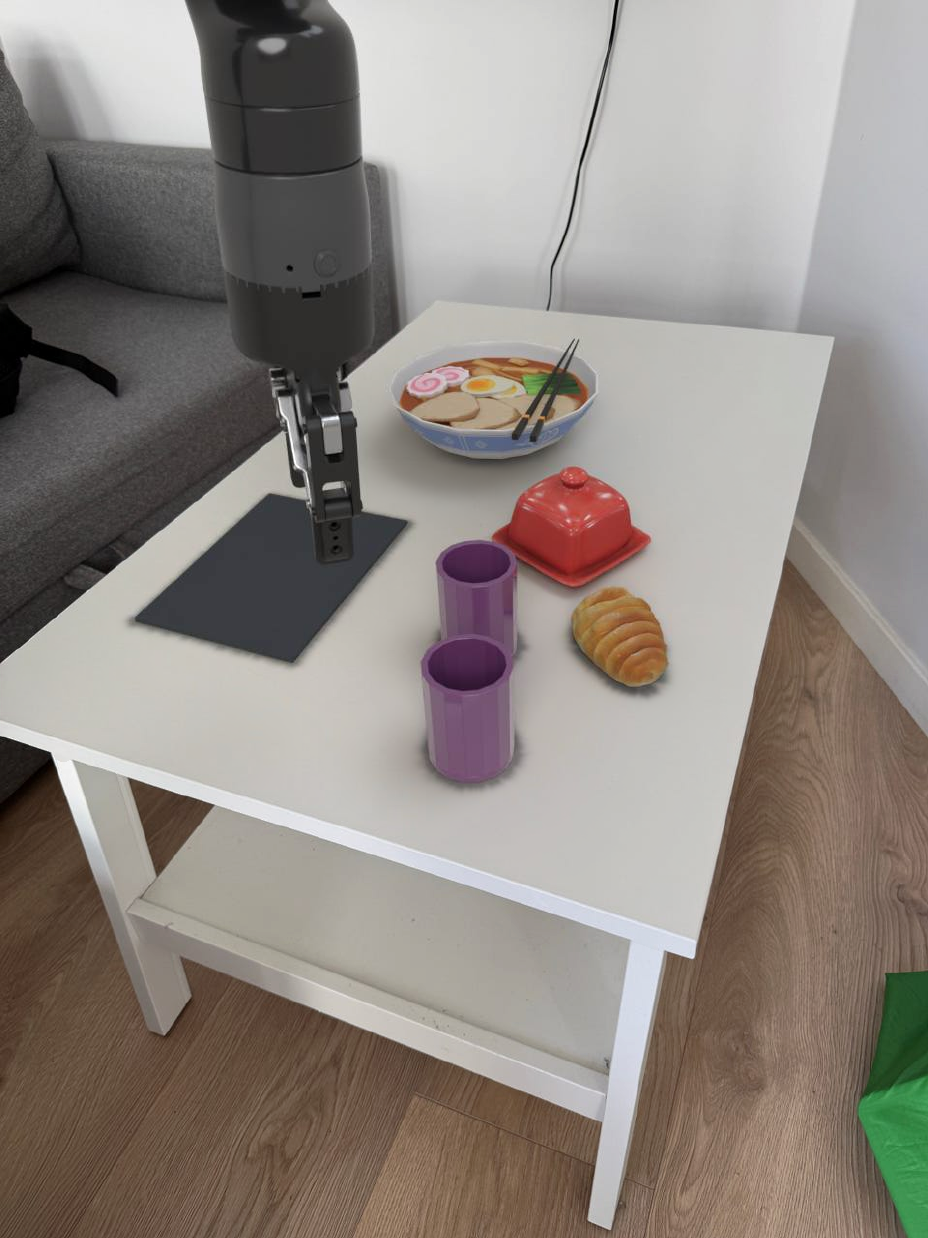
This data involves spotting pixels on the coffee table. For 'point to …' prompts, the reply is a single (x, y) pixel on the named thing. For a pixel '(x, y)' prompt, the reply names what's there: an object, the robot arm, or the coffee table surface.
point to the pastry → (621, 636)
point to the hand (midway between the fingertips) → (321, 519)
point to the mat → (268, 581)
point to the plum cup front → (469, 706)
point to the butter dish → (572, 528)
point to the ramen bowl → (494, 396)
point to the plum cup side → (478, 591)
